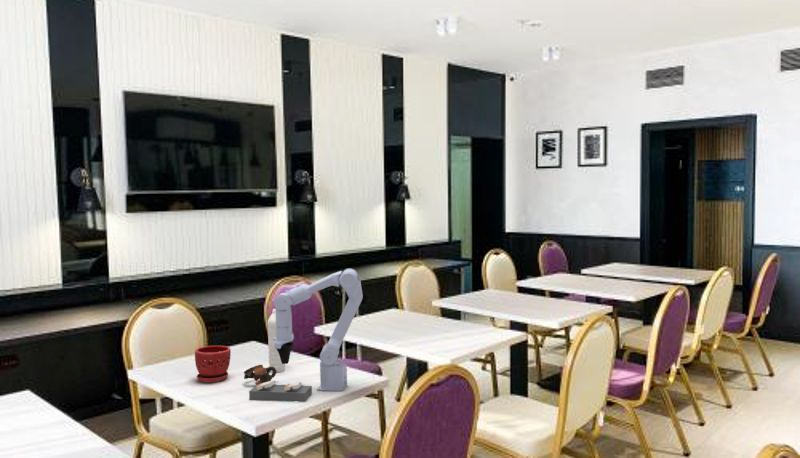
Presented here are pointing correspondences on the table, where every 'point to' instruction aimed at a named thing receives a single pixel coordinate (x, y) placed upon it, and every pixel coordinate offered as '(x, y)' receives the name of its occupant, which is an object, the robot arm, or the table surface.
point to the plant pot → (212, 363)
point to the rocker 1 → (265, 385)
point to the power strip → (281, 393)
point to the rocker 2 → (292, 386)
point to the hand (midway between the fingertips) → (285, 363)
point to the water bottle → (273, 345)
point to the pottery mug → (260, 374)
